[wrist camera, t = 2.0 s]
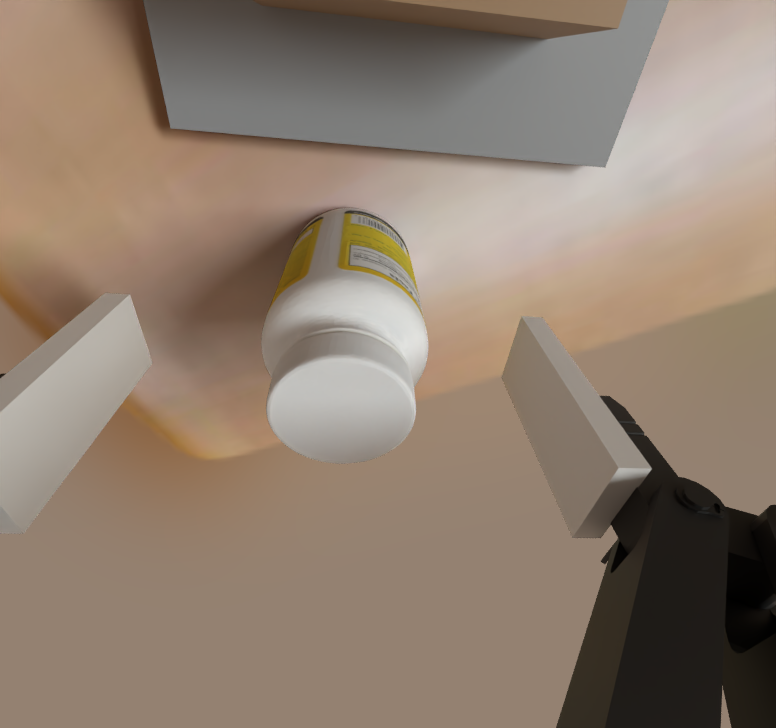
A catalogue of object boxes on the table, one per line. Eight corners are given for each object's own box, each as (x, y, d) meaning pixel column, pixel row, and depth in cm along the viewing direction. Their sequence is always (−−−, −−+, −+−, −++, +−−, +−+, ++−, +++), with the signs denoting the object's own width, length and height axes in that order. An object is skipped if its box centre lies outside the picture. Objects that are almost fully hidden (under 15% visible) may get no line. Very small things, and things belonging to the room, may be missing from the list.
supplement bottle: (311, 324, 20) (274, 490, 12) (276, 216, 17) (195, 349, 9) (416, 307, 20) (448, 467, 12) (402, 194, 16) (433, 312, 9)
